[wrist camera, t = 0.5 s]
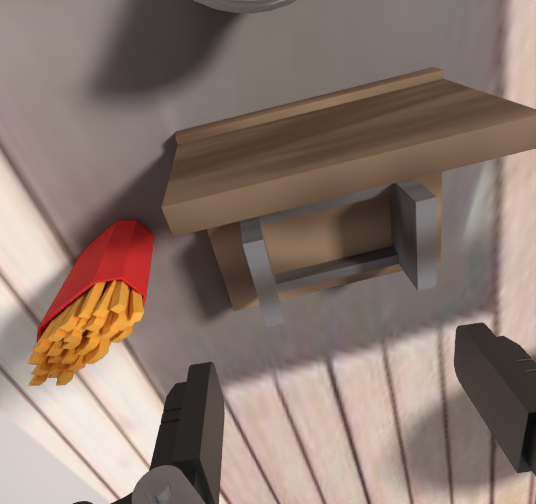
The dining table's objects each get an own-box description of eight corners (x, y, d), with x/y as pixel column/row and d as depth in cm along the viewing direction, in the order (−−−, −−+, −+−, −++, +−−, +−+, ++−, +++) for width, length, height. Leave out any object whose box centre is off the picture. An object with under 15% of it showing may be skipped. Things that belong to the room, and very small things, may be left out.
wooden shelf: (176, 131, 31) (157, 196, 21) (433, 67, 31) (548, 100, 20) (233, 301, 40) (240, 408, 30) (433, 253, 40) (512, 343, 29)
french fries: (104, 292, 38) (59, 410, 27) (64, 263, 36) (-2, 378, 25) (175, 233, 36) (157, 336, 25) (137, 199, 34) (100, 294, 23)
